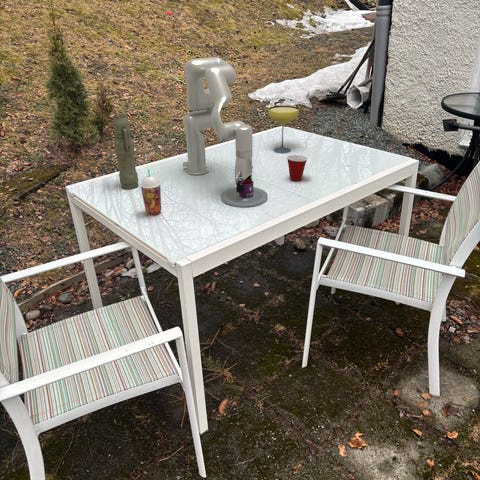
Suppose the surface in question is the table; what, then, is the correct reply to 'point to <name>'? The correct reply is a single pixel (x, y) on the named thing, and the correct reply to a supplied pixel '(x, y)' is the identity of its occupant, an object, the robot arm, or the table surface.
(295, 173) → the plastic cup
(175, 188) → the table surface
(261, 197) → the dish
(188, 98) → the robot arm
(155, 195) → the smoothie
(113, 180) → the table surface
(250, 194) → the cup
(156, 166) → the table surface
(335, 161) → the table surface
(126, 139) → the green moai statue
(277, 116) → the cocktail glass
